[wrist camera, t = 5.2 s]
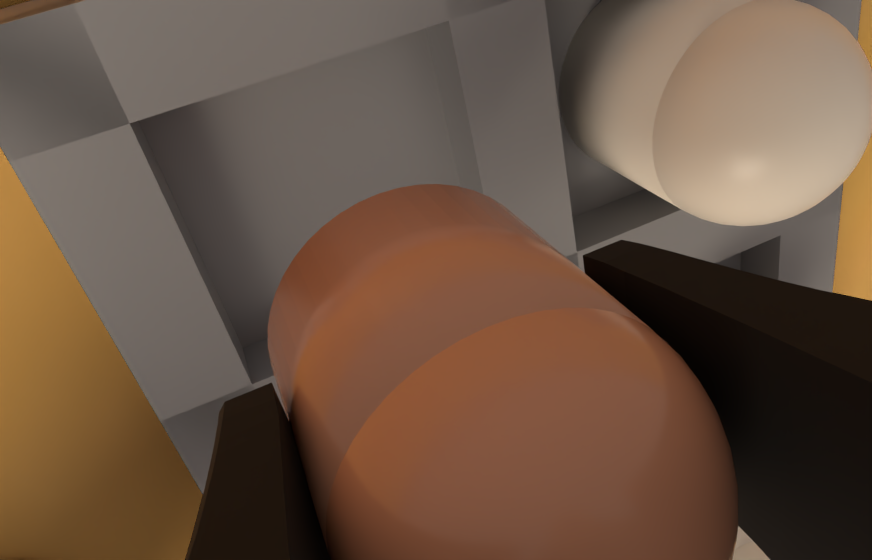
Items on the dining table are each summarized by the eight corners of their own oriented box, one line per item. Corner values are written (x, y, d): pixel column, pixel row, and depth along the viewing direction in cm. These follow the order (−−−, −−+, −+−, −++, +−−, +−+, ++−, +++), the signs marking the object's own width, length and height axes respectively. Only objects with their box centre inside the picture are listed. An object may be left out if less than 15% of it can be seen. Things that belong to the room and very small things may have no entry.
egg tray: (359, 727, 27) (420, 948, 21) (-31, 17, 13) (-152, 115, 7) (758, 519, 30) (902, 662, 25) (789, -214, 16) (1131, -267, 11)
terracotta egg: (320, 480, 12) (455, 889, 7) (219, 252, 9) (318, 631, 5) (559, 374, 13) (828, 673, 8) (521, 140, 10) (873, 362, 5)
